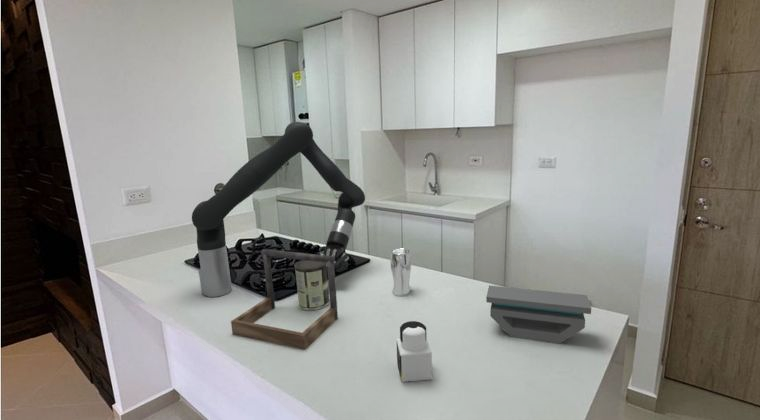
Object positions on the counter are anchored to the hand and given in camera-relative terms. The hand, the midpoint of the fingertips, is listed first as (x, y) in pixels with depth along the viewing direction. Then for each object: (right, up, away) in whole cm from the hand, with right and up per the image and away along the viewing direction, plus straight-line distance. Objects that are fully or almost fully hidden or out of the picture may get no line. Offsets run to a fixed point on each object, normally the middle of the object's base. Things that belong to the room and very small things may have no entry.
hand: (325, 278), depth 136 cm
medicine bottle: (+27, -14, -44) cm, 54 cm away
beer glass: (+27, -5, -1) cm, 27 cm away
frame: (-9, -10, -20) cm, 24 cm away
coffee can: (-3, -7, -6) cm, 10 cm away
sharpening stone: (+61, -10, -30) cm, 69 cm away
